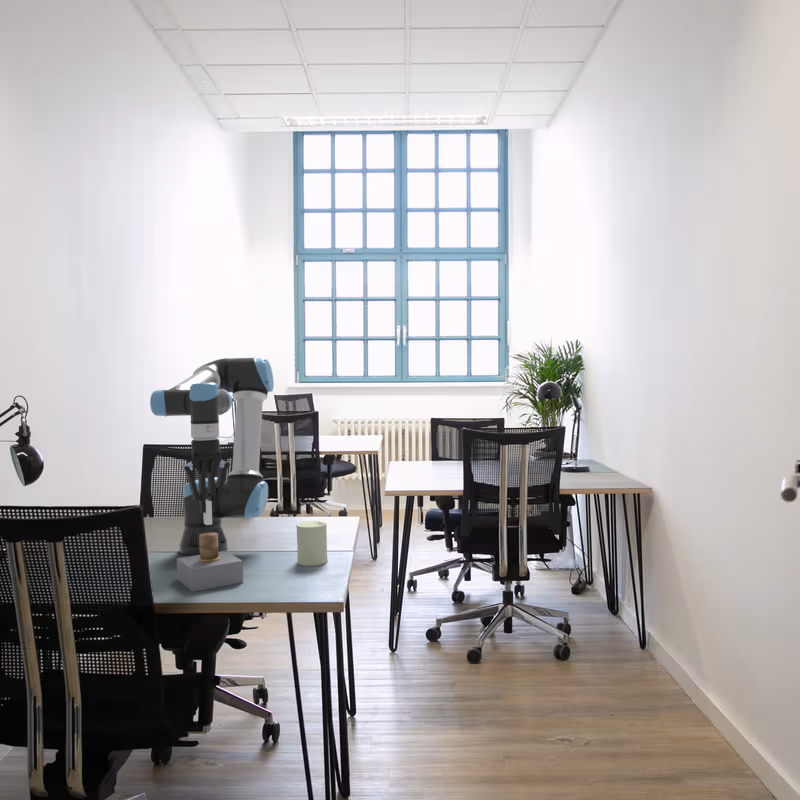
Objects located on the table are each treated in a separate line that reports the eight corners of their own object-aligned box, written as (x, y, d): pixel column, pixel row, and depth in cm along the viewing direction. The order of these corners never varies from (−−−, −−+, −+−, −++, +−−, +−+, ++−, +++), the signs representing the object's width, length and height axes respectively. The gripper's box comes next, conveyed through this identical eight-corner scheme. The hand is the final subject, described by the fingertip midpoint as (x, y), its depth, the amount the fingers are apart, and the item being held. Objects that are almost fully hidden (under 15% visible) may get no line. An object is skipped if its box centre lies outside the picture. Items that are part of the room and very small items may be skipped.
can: (327, 565, 218) (326, 525, 217) (296, 566, 217) (295, 526, 217) (328, 557, 227) (327, 518, 226) (298, 558, 226) (297, 519, 226)
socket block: (225, 571, 213) (225, 550, 213) (243, 582, 202) (242, 560, 202) (177, 579, 206) (176, 558, 206) (192, 591, 194) (191, 569, 194)
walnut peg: (216, 577, 208) (214, 531, 207) (222, 581, 203) (221, 534, 202) (197, 580, 205) (195, 534, 204) (203, 585, 200) (202, 537, 200)
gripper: (185, 441, 195) (188, 529, 196) (232, 438, 203) (235, 523, 203) (177, 439, 202) (180, 524, 203) (223, 436, 209) (226, 518, 210)
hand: (208, 523), depth 203 cm, fingers closed
